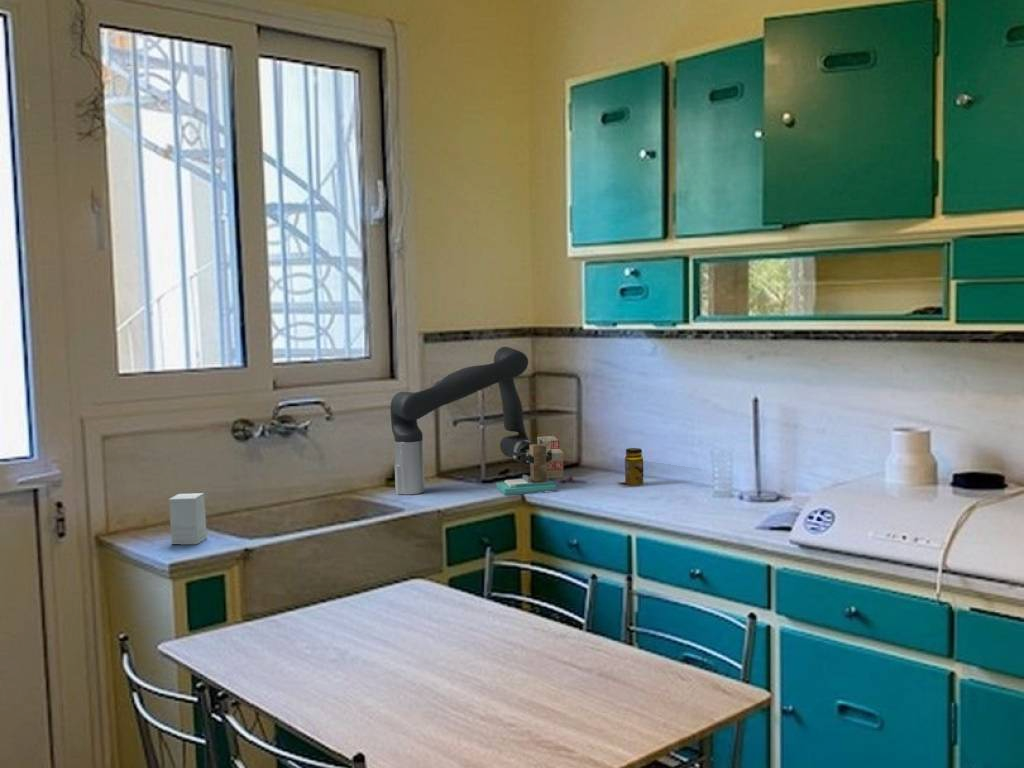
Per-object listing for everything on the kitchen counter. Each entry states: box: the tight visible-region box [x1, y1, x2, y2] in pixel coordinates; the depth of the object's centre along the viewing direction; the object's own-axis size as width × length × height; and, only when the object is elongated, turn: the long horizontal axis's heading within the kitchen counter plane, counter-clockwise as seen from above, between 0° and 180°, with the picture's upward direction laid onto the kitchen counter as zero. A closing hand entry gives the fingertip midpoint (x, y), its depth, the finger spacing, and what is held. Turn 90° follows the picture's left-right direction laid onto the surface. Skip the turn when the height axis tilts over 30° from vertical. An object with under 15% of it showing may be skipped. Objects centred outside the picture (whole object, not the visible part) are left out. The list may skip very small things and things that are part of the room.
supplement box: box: [168, 492, 208, 545], centre depth 272 cm, size 7×7×13 cm
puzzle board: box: [495, 477, 557, 496], centre depth 331 cm, size 17×12×3 cm
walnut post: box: [529, 443, 548, 483], centre depth 332 cm, size 4×4×13 cm
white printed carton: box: [536, 435, 565, 480], centre depth 361 cm, size 21×6×12 cm, turn 6°
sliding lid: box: [504, 474, 532, 487], centre depth 331 cm, size 8×8×2 cm
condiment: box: [616, 447, 647, 488], centre depth 336 cm, size 7×8×12 cm
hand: (540, 459), depth 329 cm, fingers closed on walnut post, 4 cm apart
